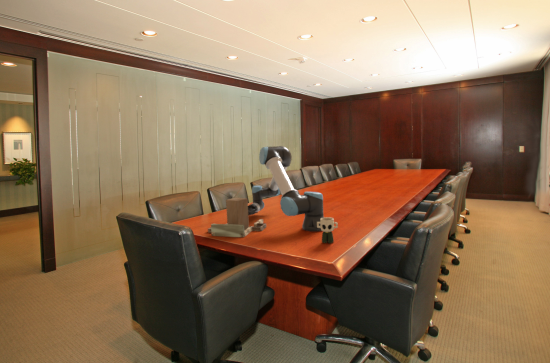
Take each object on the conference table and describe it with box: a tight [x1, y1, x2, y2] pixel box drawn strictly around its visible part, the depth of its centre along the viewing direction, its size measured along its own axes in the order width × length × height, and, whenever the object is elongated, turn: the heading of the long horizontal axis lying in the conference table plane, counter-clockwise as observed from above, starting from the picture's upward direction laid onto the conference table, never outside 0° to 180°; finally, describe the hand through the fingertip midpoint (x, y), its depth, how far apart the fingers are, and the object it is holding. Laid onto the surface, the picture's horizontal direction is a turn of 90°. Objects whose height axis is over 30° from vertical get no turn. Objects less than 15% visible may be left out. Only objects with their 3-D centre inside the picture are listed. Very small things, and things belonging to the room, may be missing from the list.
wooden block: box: [225, 197, 250, 230], centre depth 197 cm, size 10×10×20 cm
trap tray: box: [207, 218, 267, 238], centre depth 200 cm, size 35×33×7 cm
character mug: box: [317, 216, 339, 244], centre depth 163 cm, size 11×7×13 cm, turn 77°
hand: (239, 216), depth 204 cm, fingers closed
